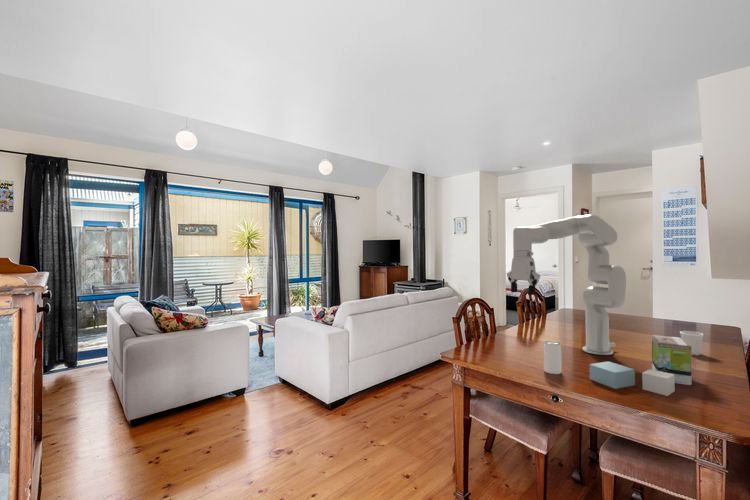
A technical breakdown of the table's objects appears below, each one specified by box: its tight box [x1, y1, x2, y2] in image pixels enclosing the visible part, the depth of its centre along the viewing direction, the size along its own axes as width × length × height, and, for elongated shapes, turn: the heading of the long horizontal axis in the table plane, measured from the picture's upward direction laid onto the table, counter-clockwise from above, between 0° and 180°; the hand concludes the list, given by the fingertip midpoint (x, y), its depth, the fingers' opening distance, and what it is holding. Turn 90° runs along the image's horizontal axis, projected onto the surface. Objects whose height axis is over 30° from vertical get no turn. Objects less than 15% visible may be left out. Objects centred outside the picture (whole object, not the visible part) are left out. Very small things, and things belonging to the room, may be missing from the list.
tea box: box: [651, 334, 693, 386], centre depth 133 cm, size 15×10×15 cm
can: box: [543, 340, 563, 375], centre depth 141 cm, size 6×6×12 cm
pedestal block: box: [589, 361, 636, 390], centre depth 129 cm, size 10×10×6 cm
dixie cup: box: [679, 330, 704, 356], centre depth 163 cm, size 8×8×10 cm
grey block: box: [641, 368, 676, 397], centre depth 121 cm, size 7×7×6 cm
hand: (522, 293), depth 152 cm, fingers open, 9 cm apart
